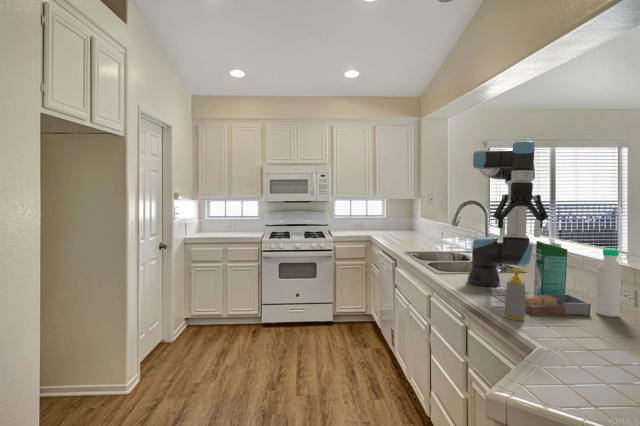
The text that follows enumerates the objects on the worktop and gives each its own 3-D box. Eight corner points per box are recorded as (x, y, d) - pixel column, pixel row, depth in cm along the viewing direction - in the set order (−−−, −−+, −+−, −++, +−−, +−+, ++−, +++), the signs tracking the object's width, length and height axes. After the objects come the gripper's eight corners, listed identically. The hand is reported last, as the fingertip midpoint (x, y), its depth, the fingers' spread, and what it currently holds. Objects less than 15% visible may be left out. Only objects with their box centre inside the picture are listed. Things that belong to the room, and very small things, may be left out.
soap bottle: (518, 322, 137) (520, 272, 136) (500, 316, 142) (502, 268, 141) (529, 319, 140) (531, 270, 139) (510, 313, 146) (512, 266, 145)
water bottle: (612, 318, 142) (616, 251, 141) (591, 313, 149) (595, 248, 147) (622, 315, 146) (626, 249, 144) (601, 310, 152) (605, 247, 150)
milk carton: (564, 303, 161) (567, 243, 159) (541, 302, 163) (543, 243, 161) (556, 297, 170) (559, 241, 168) (533, 296, 171) (536, 240, 170)
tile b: (536, 300, 155) (536, 295, 154) (549, 300, 154) (549, 295, 154) (543, 303, 150) (543, 298, 149) (556, 303, 149) (556, 298, 149)
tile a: (522, 299, 155) (522, 294, 154) (535, 300, 155) (535, 295, 154) (529, 303, 150) (529, 298, 149) (542, 303, 150) (542, 298, 149)
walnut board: (513, 303, 160) (513, 296, 160) (542, 304, 160) (542, 296, 159) (532, 315, 145) (533, 307, 145) (564, 315, 145) (565, 307, 144)
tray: (543, 304, 159) (544, 294, 158) (568, 305, 159) (568, 294, 158) (563, 314, 146) (563, 303, 145) (589, 315, 146) (590, 303, 145)
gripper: (494, 181, 145) (492, 237, 146) (560, 182, 146) (557, 238, 147) (485, 181, 153) (483, 235, 154) (548, 182, 153) (545, 236, 154)
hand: (519, 237), depth 150 cm, fingers open, 13 cm apart
